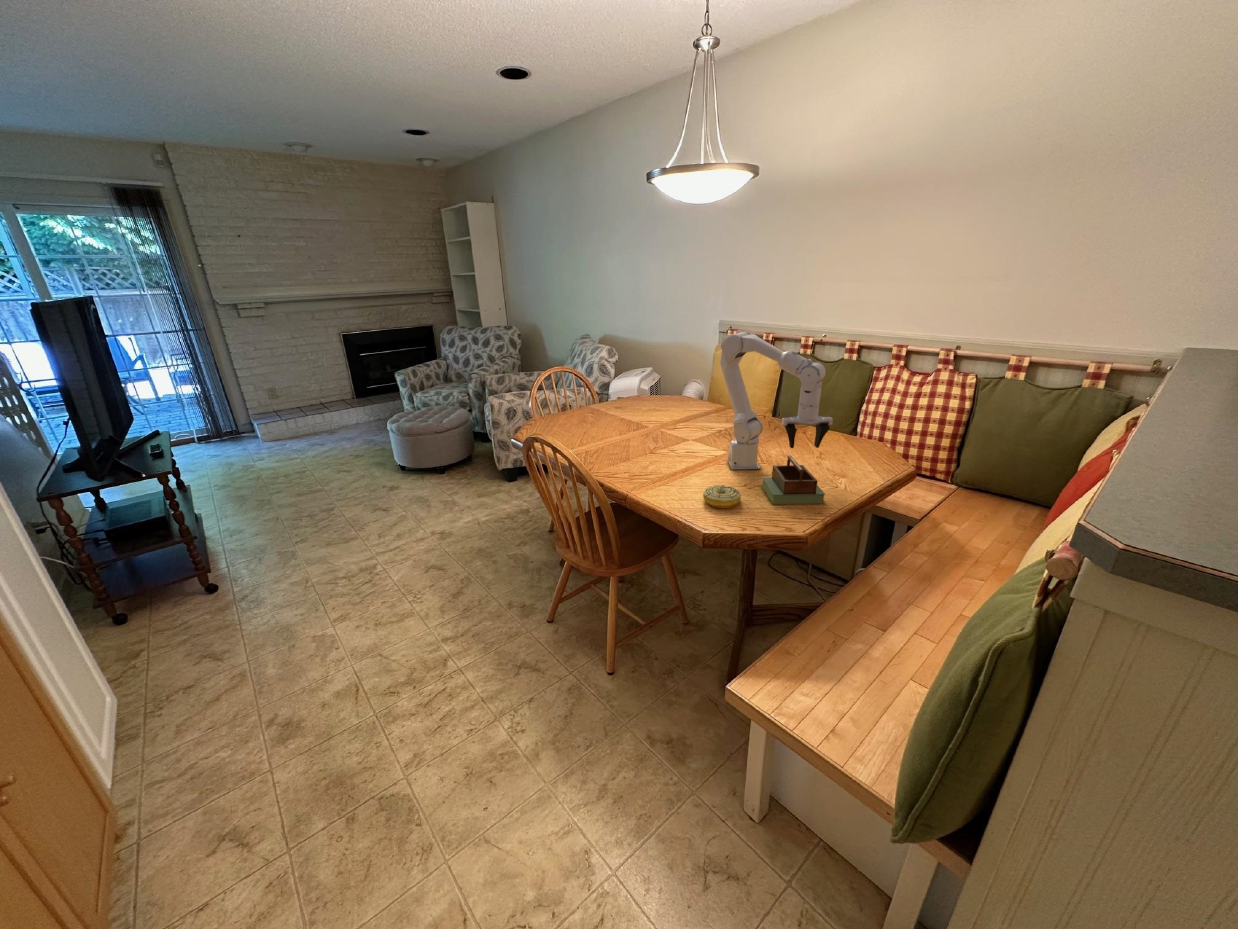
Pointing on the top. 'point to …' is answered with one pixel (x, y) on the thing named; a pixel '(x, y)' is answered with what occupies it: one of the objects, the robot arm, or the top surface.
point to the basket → (794, 478)
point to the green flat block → (781, 498)
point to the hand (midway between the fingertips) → (804, 446)
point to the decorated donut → (721, 496)
